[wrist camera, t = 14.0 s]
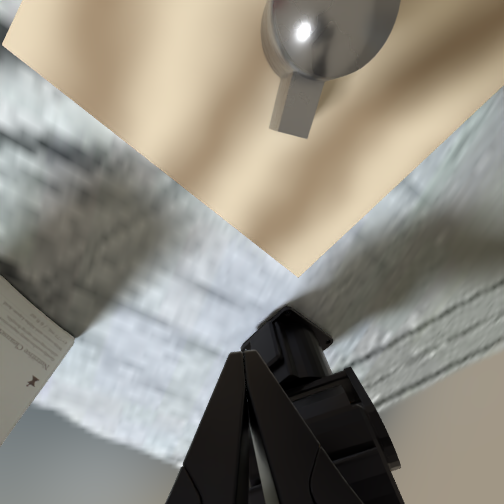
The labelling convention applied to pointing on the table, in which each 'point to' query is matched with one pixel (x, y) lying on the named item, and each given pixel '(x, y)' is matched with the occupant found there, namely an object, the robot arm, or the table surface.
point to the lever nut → (318, 50)
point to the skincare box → (25, 354)
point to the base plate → (266, 104)
